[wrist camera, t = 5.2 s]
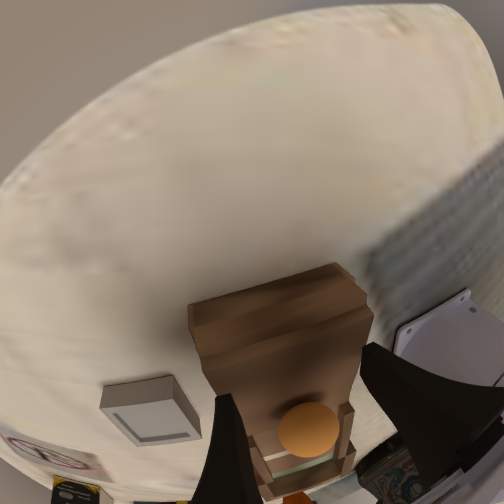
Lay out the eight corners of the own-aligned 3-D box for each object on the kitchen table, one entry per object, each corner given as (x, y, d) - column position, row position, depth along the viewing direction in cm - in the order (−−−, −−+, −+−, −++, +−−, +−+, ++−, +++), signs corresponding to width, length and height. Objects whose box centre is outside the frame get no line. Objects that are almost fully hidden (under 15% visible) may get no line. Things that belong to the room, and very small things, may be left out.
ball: (351, 453, 11) (333, 420, 15) (343, 416, 11) (323, 383, 14) (292, 475, 11) (282, 438, 15) (275, 441, 11) (267, 402, 14)
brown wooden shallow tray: (354, 256, 14) (400, 290, 11) (340, 455, 25) (352, 479, 22) (165, 310, 13) (161, 367, 9) (260, 482, 24) (268, 508, 20)
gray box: (172, 375, 15) (173, 398, 13) (199, 417, 17) (202, 438, 15) (103, 386, 14) (99, 408, 12) (138, 427, 16) (137, 446, 14)
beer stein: (440, 420, 34) (501, 500, 11) (358, 480, 35) (405, 564, 13) (428, 404, 27) (514, 514, 4) (319, 480, 29) (375, 595, 6)
